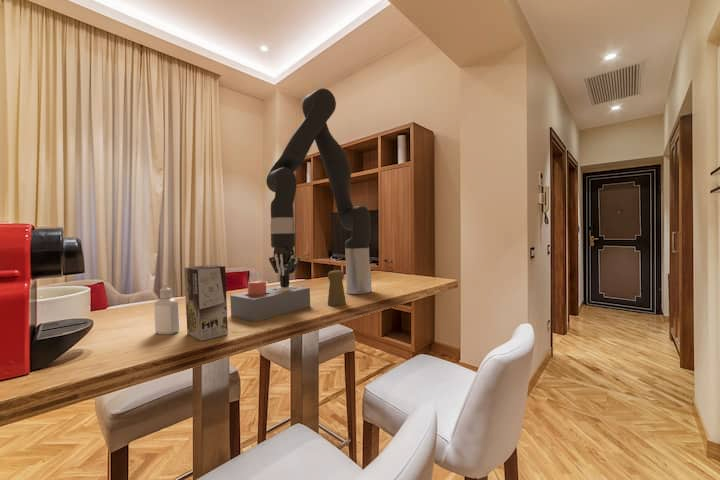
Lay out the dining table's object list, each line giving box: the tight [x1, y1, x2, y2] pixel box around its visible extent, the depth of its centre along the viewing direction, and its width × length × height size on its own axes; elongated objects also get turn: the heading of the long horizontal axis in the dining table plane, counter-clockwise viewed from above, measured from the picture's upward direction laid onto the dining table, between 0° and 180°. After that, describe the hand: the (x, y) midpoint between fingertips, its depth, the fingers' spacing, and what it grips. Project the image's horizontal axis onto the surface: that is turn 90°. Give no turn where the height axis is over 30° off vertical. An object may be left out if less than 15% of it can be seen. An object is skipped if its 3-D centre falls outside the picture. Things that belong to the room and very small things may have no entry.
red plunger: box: [247, 280, 267, 297], centre depth 89 cm, size 5×5×6 cm
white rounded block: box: [276, 285, 294, 291], centre depth 97 cm, size 5×5×6 cm
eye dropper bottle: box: [153, 283, 180, 335], centre depth 75 cm, size 4×6×12 cm
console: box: [229, 284, 311, 323], centre depth 93 cm, size 20×12×6 cm, turn 142°
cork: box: [327, 269, 347, 307], centre depth 99 cm, size 6×6×11 cm
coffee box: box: [183, 264, 229, 342], centre depth 72 cm, size 9×6×16 cm
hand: (284, 286), depth 97 cm, fingers closed
